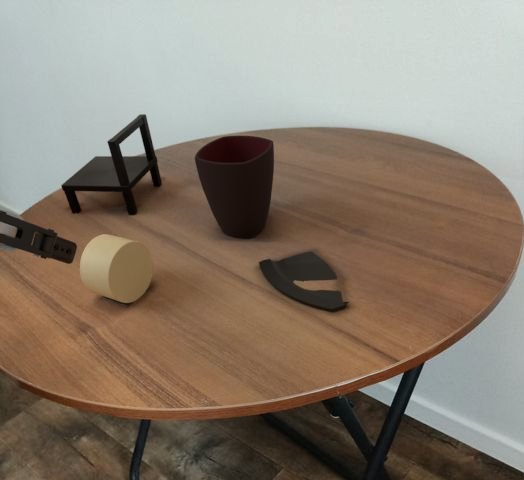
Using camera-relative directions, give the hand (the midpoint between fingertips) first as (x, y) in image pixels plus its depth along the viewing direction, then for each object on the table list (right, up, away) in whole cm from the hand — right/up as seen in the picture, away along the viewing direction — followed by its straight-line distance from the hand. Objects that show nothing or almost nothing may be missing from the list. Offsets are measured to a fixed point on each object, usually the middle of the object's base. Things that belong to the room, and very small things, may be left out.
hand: (44, 245), depth 55 cm
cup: (+21, +8, +25) cm, 34 cm away
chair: (-2, +16, +36) cm, 40 cm away
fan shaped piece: (+28, -3, +11) cm, 30 cm away
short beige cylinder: (+5, -4, +13) cm, 15 cm away
